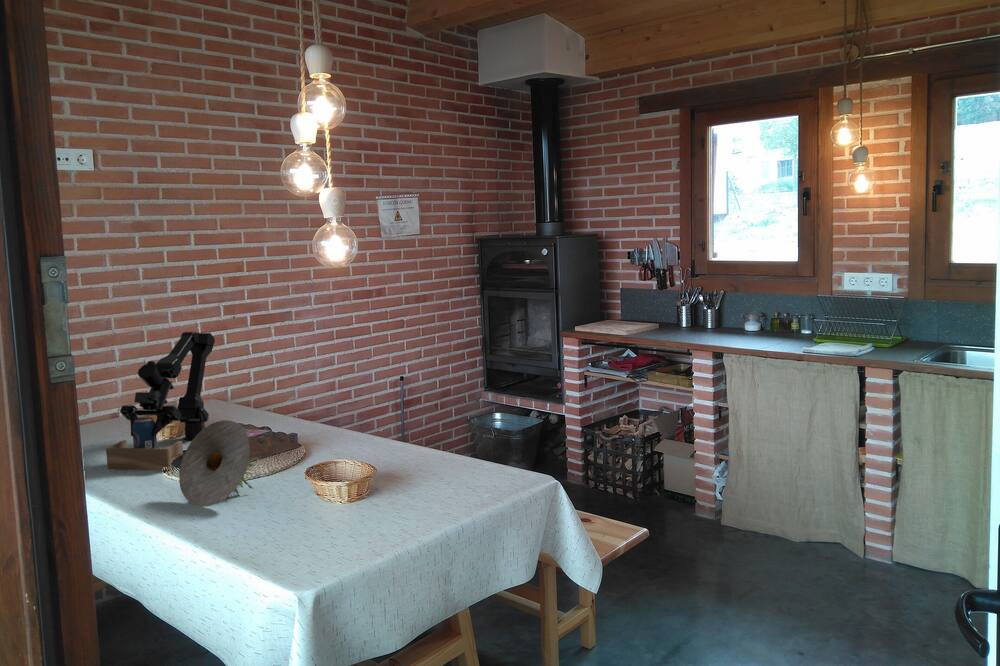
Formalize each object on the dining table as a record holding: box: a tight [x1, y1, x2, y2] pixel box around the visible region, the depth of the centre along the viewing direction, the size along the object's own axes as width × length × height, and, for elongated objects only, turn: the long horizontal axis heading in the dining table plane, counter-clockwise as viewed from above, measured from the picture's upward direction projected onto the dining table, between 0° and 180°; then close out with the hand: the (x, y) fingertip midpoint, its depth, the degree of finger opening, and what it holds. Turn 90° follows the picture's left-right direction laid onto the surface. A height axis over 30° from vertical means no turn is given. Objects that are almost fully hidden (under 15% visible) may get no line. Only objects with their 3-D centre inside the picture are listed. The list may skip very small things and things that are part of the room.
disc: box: [178, 419, 265, 507], centre depth 232 cm, size 25×18×25 cm
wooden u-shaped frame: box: [105, 439, 184, 472], centre depth 259 cm, size 9×21×7 cm, turn 82°
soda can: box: [132, 417, 158, 448], centre depth 259 cm, size 7×7×12 cm
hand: (142, 435), depth 258 cm, fingers closed on soda can, 7 cm apart
